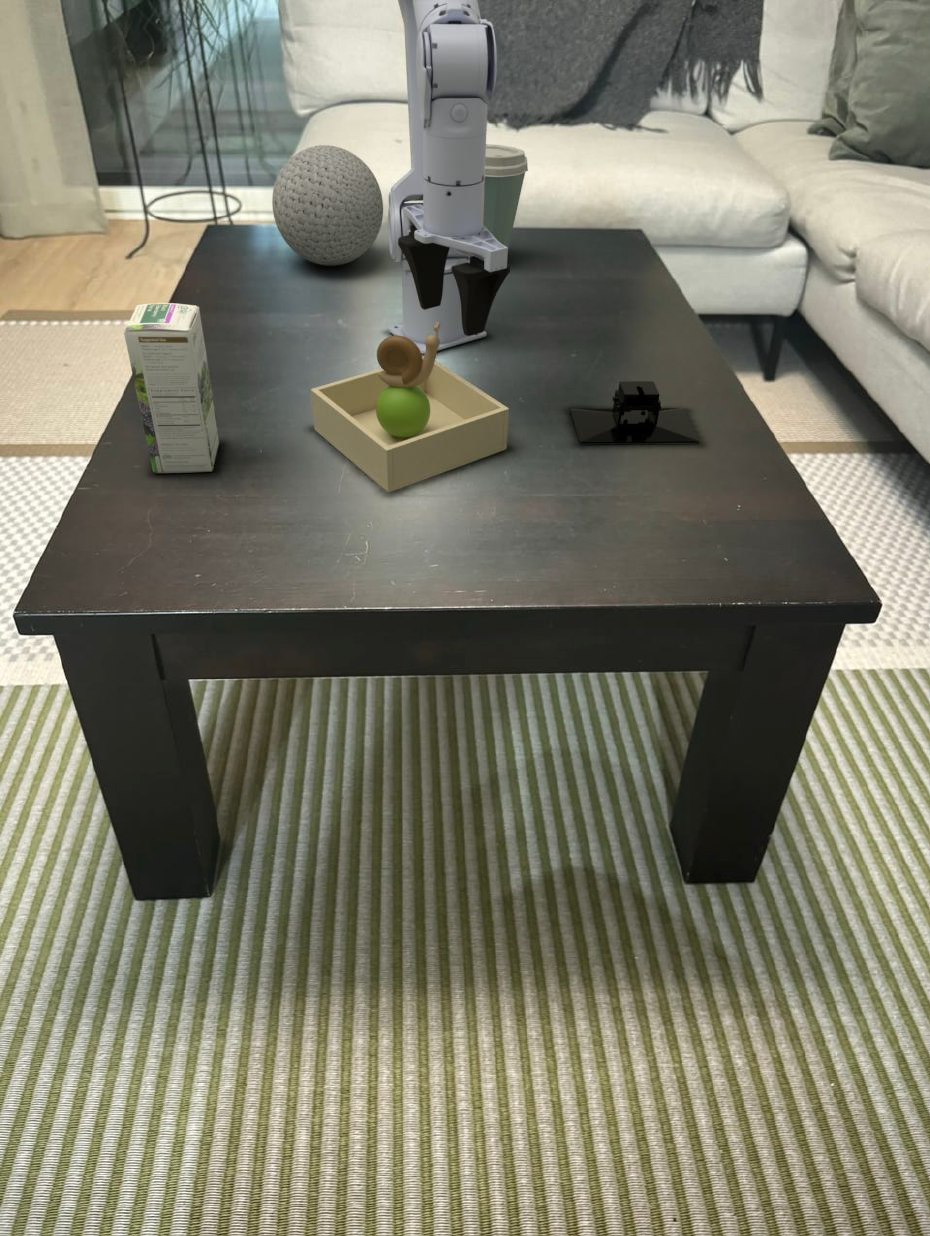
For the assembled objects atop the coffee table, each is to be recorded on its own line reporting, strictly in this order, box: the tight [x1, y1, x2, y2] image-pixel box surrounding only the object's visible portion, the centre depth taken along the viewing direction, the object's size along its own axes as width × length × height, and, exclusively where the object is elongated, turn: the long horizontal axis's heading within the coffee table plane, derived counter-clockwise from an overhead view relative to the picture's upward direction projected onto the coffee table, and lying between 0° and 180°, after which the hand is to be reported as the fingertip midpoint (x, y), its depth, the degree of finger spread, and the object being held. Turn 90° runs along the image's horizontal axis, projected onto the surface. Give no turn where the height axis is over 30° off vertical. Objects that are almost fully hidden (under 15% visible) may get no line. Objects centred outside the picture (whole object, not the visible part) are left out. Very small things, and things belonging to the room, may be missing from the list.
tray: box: [310, 355, 510, 493], centre depth 92 cm, size 14×14×5 cm
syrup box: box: [123, 302, 220, 474], centre depth 85 cm, size 6×6×14 cm
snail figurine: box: [376, 322, 440, 438], centre depth 89 cm, size 5×6×12 cm
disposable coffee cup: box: [483, 143, 529, 249], centre depth 127 cm, size 11×11×15 cm
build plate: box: [569, 380, 700, 446], centre depth 95 cm, size 12×7×5 cm, turn 93°
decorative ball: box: [271, 144, 384, 267], centre depth 125 cm, size 15×15×15 cm
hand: (451, 319), depth 93 cm, fingers open, 7 cm apart
